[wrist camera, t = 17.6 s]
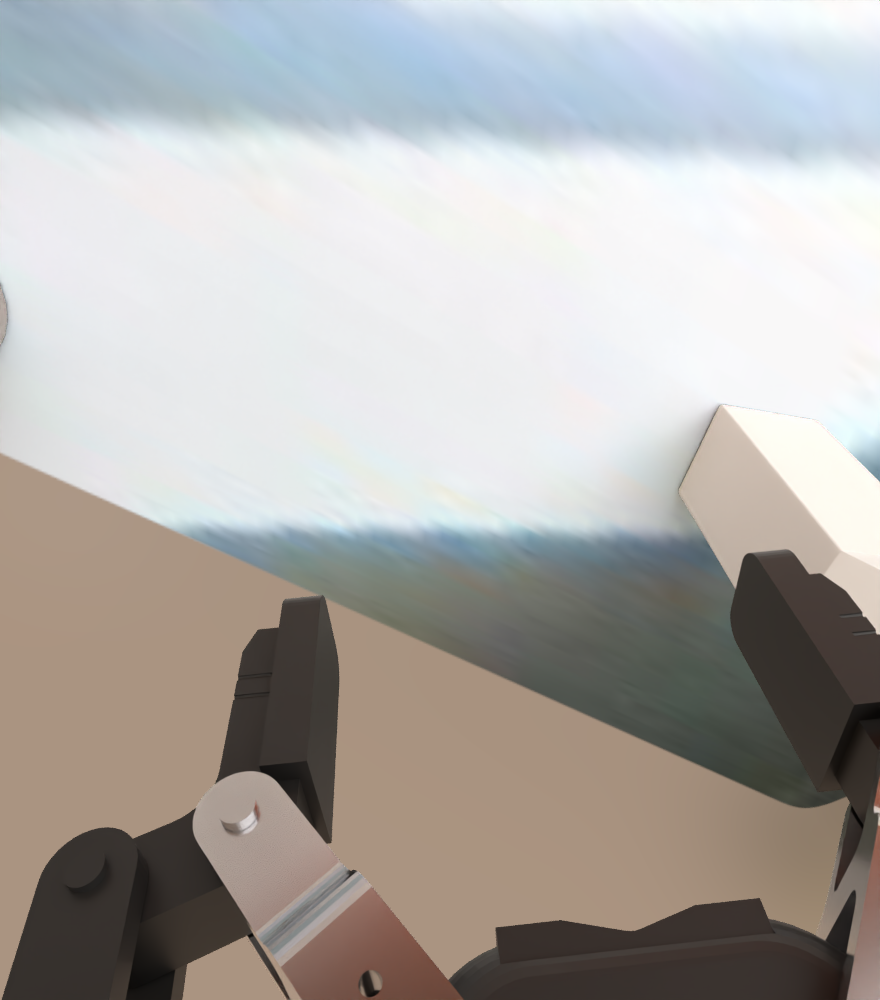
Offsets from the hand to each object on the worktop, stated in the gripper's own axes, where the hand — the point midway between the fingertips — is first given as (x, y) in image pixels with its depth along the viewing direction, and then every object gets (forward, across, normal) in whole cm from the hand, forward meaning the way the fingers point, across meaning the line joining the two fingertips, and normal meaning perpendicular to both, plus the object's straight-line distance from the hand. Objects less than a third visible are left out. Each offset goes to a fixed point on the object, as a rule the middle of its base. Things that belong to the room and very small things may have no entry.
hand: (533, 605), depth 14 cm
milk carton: (+30, -20, +18) cm, 41 cm away
